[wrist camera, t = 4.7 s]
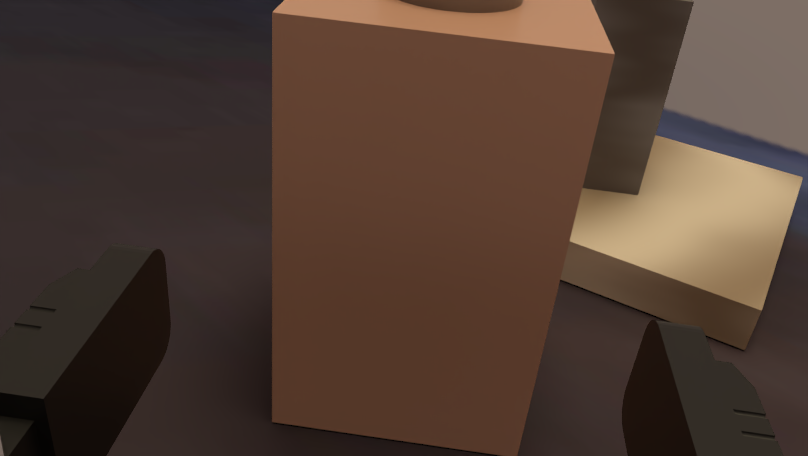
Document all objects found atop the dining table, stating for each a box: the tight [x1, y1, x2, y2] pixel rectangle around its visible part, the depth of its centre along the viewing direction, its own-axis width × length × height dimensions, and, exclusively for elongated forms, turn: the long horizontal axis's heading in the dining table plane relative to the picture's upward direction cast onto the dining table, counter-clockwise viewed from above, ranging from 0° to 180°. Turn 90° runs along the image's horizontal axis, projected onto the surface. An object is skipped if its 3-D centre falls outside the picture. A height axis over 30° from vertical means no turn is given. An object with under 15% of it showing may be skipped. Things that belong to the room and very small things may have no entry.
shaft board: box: [560, 0, 803, 350], centre depth 27 cm, size 14×11×8 cm
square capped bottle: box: [272, 0, 615, 456], centre depth 18 cm, size 6×6×11 cm
